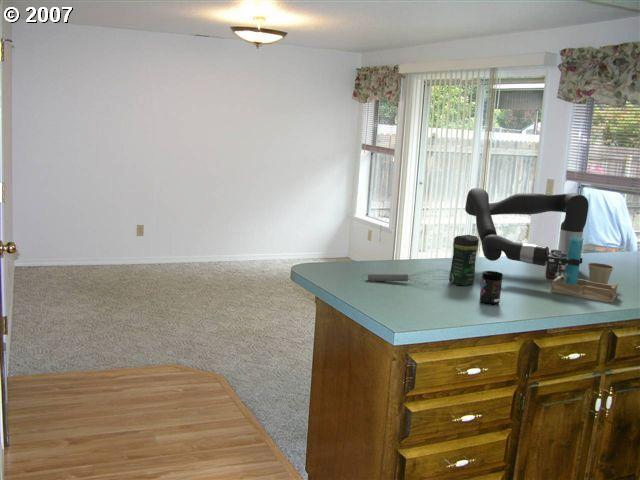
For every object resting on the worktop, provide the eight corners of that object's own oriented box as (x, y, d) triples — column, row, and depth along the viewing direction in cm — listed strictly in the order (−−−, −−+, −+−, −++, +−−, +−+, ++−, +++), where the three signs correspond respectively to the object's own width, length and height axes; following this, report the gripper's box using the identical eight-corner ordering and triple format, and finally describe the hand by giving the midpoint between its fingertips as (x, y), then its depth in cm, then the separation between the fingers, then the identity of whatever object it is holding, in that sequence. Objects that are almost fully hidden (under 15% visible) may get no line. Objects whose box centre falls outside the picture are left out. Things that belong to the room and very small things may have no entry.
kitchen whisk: (361, 278, 248) (362, 262, 247) (451, 285, 247) (453, 269, 246) (361, 282, 242) (363, 265, 241) (454, 289, 241) (456, 272, 240)
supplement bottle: (561, 279, 268) (565, 252, 266) (546, 278, 269) (549, 250, 267) (559, 276, 274) (562, 249, 272) (544, 275, 275) (547, 248, 273)
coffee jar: (463, 287, 244) (468, 237, 241) (445, 282, 249) (450, 234, 246) (477, 284, 251) (482, 235, 247) (459, 279, 256) (464, 232, 253)
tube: (581, 289, 245) (589, 238, 242) (570, 289, 244) (578, 238, 240) (567, 284, 252) (575, 234, 249) (557, 284, 251) (564, 234, 247)
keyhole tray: (557, 285, 257) (559, 273, 256) (616, 295, 246) (618, 282, 245) (550, 291, 246) (552, 278, 245) (611, 302, 235) (613, 289, 234)
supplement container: (487, 299, 228) (490, 270, 226) (503, 304, 223) (507, 274, 221) (474, 301, 224) (478, 271, 222) (491, 306, 219) (495, 276, 217)
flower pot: (609, 286, 262) (612, 264, 260) (611, 291, 253) (615, 269, 252) (584, 282, 265) (587, 261, 263) (585, 287, 256) (588, 266, 255)
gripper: (537, 261, 260) (582, 269, 252) (528, 266, 248) (575, 275, 240) (540, 242, 259) (585, 249, 250) (530, 247, 247) (578, 254, 238)
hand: (580, 262), depth 245 cm, fingers closed on tube, 5 cm apart
